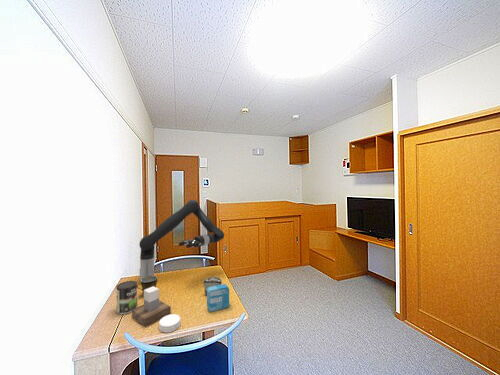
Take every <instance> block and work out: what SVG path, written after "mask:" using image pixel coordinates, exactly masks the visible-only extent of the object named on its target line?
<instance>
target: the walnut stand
mask: <svg viewBox="0 0 500 375" xmlns="http://www.w3.org/2000/svg"><path fill="white" fill-rule="evenodd" d="M171 308H172V307H171V306H170V305H169V304H167V303H165V302H163V301H162V300H160V299H159V308H157V309H155V310H153V311H150V312H148V311H147V310H145V309H144V304H142V305H140V306H137V308H135V309H132V312H131V318H133V319H134V320H135V321H136V322H138V323H139V324H140V325H142V326H143V327H145V328H147V327H148V326H150V325H152V324H154V323H157V322H159V321H160V320H161V319H162V318H163V317H165V316H167V315H170V314H171V313H172V312H171Z"/></svg>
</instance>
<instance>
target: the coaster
mask: <svg viewBox="0 0 500 375" xmlns="http://www.w3.org/2000/svg"><path fill="white" fill-rule="evenodd" d="M181 321H182V320H181V316H180V315H178V314H174V313H173V314H170V315H167V316H165V317H163V318H162V319H160V320H158V322H159V323H158V329H159V331H160V332H162V333H172V332H175V331H177V330H178V329H179V328H180V326H181Z"/></svg>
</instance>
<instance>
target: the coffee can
mask: <svg viewBox="0 0 500 375" xmlns="http://www.w3.org/2000/svg"><path fill="white" fill-rule="evenodd" d="M137 284H138V282H137V280H128V281H123V282H120V283H119V284H117V285H116V287H115V288H116V313H117V314H119V315H127V314H129V313H132V309H135V308H137V307H138V288H137Z"/></svg>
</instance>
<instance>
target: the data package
mask: <svg viewBox="0 0 500 375" xmlns="http://www.w3.org/2000/svg"><path fill="white" fill-rule="evenodd" d="M206 307H207V309H208V311H209V312H210V313H212V312H216V311H220V310H224V309H227V308H229V307H230V288H229V286H228V285H227V284H226V283H221V285H217V286H212V287H209V288H207V296H206Z"/></svg>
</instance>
